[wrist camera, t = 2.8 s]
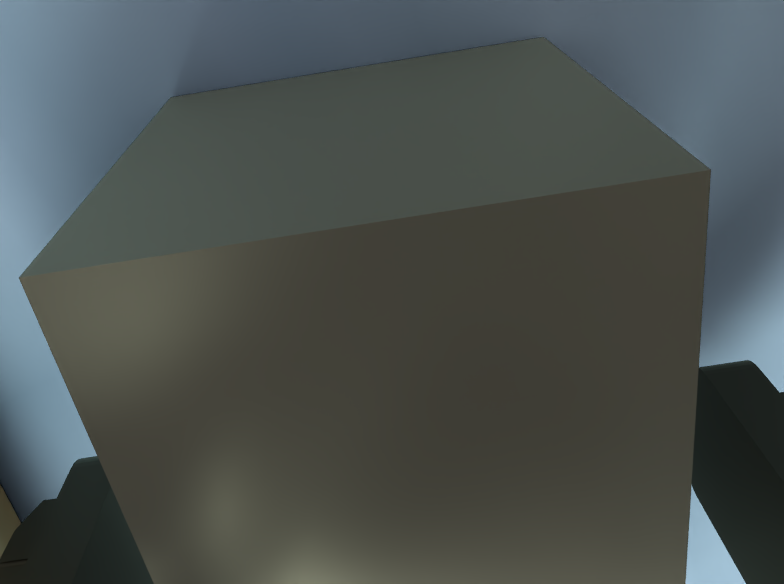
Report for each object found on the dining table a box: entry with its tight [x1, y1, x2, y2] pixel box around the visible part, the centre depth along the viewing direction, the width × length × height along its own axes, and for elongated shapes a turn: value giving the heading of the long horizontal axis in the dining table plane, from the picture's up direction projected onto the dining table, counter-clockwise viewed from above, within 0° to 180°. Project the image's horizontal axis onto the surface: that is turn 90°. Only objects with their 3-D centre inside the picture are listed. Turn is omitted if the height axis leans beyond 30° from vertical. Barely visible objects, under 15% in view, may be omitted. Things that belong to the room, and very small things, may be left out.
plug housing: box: [19, 37, 711, 584], centre depth 10 cm, size 5×11×5 cm, turn 8°
